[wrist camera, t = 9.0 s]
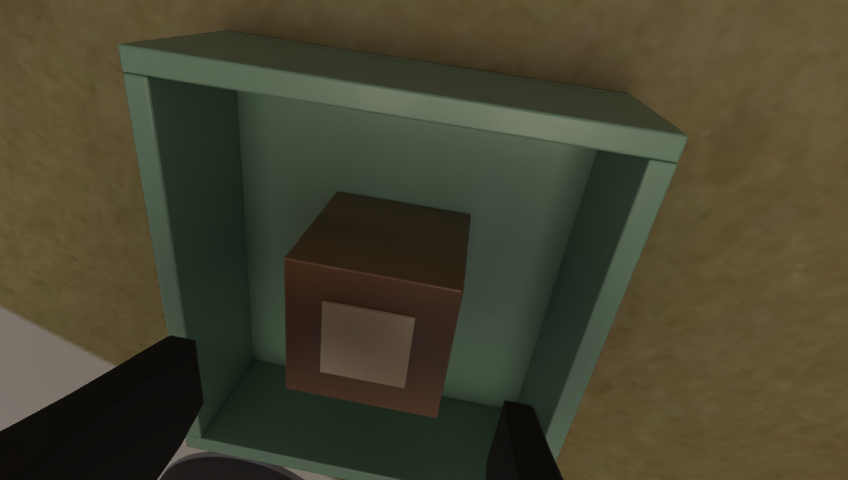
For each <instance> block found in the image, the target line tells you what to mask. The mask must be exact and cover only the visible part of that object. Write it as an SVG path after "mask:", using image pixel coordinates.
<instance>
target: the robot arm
mask: <svg viewBox="0 0 848 480" xmlns="http://www.w3.org/2000/svg"><path fill="white" fill-rule="evenodd" d="M203 404H204V400H203V393H202V385H201V378H200V370H199V363H198V355H197V348H196V341H195V340H192V339H187V338H182V337H177V336H172V335H170V336H168V337H166V338H165V339H163V340H161V341H159V342H158V343H156V344H154V345H152V346H151V347H149V348H147V349H146V350H144V351H142V352H140V353H139V354H137V355H135V356H134V357H132V358H130V359H129V360H127V361H125V362H124V363H122V364H120V365H119V366H117V367H115V368H114V369H112V370H110V371H109V372H107V373H105V374H103V375H102V376H100V377H98V378H96V379H95V380H93V381H91V382H90V383H88V384H86V385H84V386H83V387H81V388H79V389H78V390H76V391H74V392H73V393H71V394H69V395H67V396H65V397H64V398H62V399H60V400H58V401H56V402H54V403H52V404H51V405H49V406H47V407H45V408H43V409H41V410H40V411H38V412H36V413H34V414H32V415H30V416H28V417H27V418H25V419H23V420H21V421H19V422H17V423H15V424H13V425H12V426H10V427H8V428H6V429H4V430H2V431H0V480H157V479H158V477H159V476H160V475H161V473H162V472H163V470H164V469H165V467H166V466H167V465H168V463H169V462H170V460H171V459H172V457H173V456H174V454H175V453H176V452H177V450H178V449H179V447H180V446H181V444H182V442H183V441H184V439H185V437H186V435H187V434H188V432H189V430H190V428H191V426H192V425H193V423H194V421H195V419H196V417H197V415H198V413H199V411H200V409H201V407H202V406H203ZM486 480H563V478H562V475H561V473H560V471H559V469H558V466H557V464H556V462H555V459H554V457H553V455H552V452H551V450H550V447H549V445H548V443H547V440H546V438H545V435H544V432H543V430H542V427H541V424H540V422H539V419H538V416H537V413H536V411H535V409H534V408H533V406H532V405H527V404H522V403H516V402H511V401H506V400H504V404H503V407H502V411H501V414H500V417H499V421H498V424H497V427H496V431H495V434H494V437H493V441H492V444H491V447H490V451H489V454H488V458H487V464H486Z"/></svg>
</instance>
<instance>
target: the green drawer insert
mask: <svg viewBox="0 0 848 480" xmlns="http://www.w3.org/2000/svg"><path fill="white" fill-rule="evenodd" d="M118 49H119V54H120V60H121V66H122V70H123V71H124V72H126V73H124V75H123V77H124V83H125V88H126V94H127V100H128V106H129V112H130V117H131V123H132V129H133V135H134V141H135V146H136V152H137V158H138V164H139V170H140V175H141V181H142V187H143V193H144V199H145V204H146V210H147V216H148V222H149V228H150V233H151V239H152V245H153V251H154V257H155V262H156V268H157V274H158V280H159V286H160V291H161V297H162V303H163V309H164V315H165V320H166V326H167V332H168V336H170V335H172V336H177V337H182V338H187V339H192V340H195V341H196V348H197V355H198V363H199V370H200V378H201V385H202V393H203V400H204V404H203V406H202V407H201V409H200V411H199V413H198V415H197V417H196V419H195V421H194V423H193V425H192V426H191V428H190V430H189V432H188V434H187V435H186V443H187V446H188V447H193V448H198V449H202V450H207V451H212V452H217V453H221V454H226V455H231V456H236V457H241V458H245V459H250V460H255V461H260V462H265V463H269V464H274V465H279V466H284V467H289V468H293V469H298V470H303V471H308V472H313V473H318V474H322V475H327V476H332V477H337V478H341V479H346V480H486V464H487V458H488V454H489V451H490V447H491V444H492V441H493V437H494V434H495V431H496V427H497V424H498V421H499V417H500V414H501V411H502V407H503V404H504V400H506V401H511V402H516V403H522V404H527V405H532V406H533V408H534V409H535V411H536V413H537V416H538V419H539V422H540V424H541V427H542V430H543V432H544V435H545V438H546V440H547V443H548V445H549V447H550V450H551V452H552V455H553V457H554V459H555V462H556V460H557V457H558V455H559V452H560V450H561V448H562V445H563V443H564V440H565V438H566V435H567V433H568V431H569V428H570V426H571V423H572V421H573V418H574V416H575V413H576V411H577V409H578V406H579V404H580V401H581V399H582V396H583V394H584V392H585V389H586V387H587V384H588V382H589V379H590V377H591V374H592V372H593V370H594V367H595V365H596V362H597V360H598V357H599V355H600V353H601V350H602V348H603V345H604V343H605V340H606V338H607V335H608V333H609V331H610V328H611V326H612V323H613V321H614V318H615V316H616V314H617V311H618V309H619V306H620V304H621V301H622V299H623V296H624V294H625V292H626V289H627V287H628V284H629V282H630V279H631V277H632V275H633V272H634V270H635V267H636V265H637V262H638V260H639V257H640V255H641V253H642V250H643V248H644V245H645V243H646V240H647V238H648V236H649V233H650V231H651V228H652V226H653V223H654V221H655V218H656V216H657V214H658V211H659V209H660V206H661V204H662V201H663V199H664V197H665V194H666V192H667V189H668V187H669V184H670V182H671V179H672V177H673V175H674V172H675V170H676V167H677V164H676V163H675V162H678V161H679V159H680V157H681V154H682V152H683V150H684V147H685V145H686V142H687V140H688V135H686V134H685V133H683V132H682V131H681V130H679V129H678V128H676V127H675V126H674V125H672V124H671V123H669V122H668V121H667V120H665V119H664V118H662V117H661V116H660V115H658V114H657V113H655V112H654V111H653V110H651V109H650V108H648V107H647V106H646V105H644V104H643V103H641V102H640V101H639V100H637V99H636V98H635V97H633V96H632V95H630V94H627V93H621V92H615V91H608V90H602V89H595V88H589V87H583V86H576V85H570V84H564V83H557V82H551V81H544V80H538V79H532V78H525V77H519V76H513V75H506V74H500V73H494V72H487V71H481V70H474V69H468V68H462V67H455V66H449V65H443V64H436V63H430V62H423V61H417V60H411V59H404V58H398V57H392V56H385V55H379V54H373V53H366V52H360V51H353V50H347V49H341V48H334V47H328V46H322V45H315V44H309V43H303V42H296V41H290V40H283V39H277V38H271V37H264V36H258V35H252V34H245V33H239V32H232V31H226V30H224V31H217V32H210V33H202V34H194V35H186V36H178V37H170V38H162V39H155V40H147V41H139V42H131V43H123V44H119V46H118ZM336 192H344V193H350V194H356V195H361V196H367V197H373V198H378V199H384V200H390V201H396V202H401V203H407V204H413V205H419V206H424V207H430V208H436V209H442V210H447V211H453V212H459V213H465V214H470V215H471V221H470V231H469V241H468V251H467V261H466V271H465V281H464V291H463V296H462V301H461V306H460V311H459V315H458V320H457V325H456V330H455V335H454V340H453V344H452V349H451V354H450V359H449V364H448V369H447V373H446V378H445V383H444V388H443V393H442V398H441V402H440V407H439V412H438V416H437V418H433V417H428V416H423V415H418V414H413V413H408V412H403V411H398V410H393V409H388V408H383V407H378V406H373V405H368V404H363V403H358V402H353V401H348V400H343V399H338V398H333V397H328V396H323V395H318V394H313V393H308V392H303V391H298V390H292V389H288V388H286V350H285V292H284V257H285V256H286V255H287V254H288V252H289V251H290V250H291V249H292V247H293V246H294V245H295V244H296V242H297V241H298V240H299V239H300V237H301V236H302V235H303V234H304V232H305V231H306V230H307V229H308V227H309V226H310V225H311V224H312V222H313V221H314V220H315V219H316V217H317V216H318V215H319V214H320V212H321V211H322V210H323V209H324V207H325V206H326V205H327V204H328V202H329V201H330V200H331V199H332V197H333V196H334V195H335V194H336Z"/></svg>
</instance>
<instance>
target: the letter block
mask: <svg viewBox="0 0 848 480" xmlns="http://www.w3.org/2000/svg"><path fill="white" fill-rule="evenodd" d="M470 221H471V215H470V214H465V213H459V212H453V211H447V210H442V209H436V208H430V207H424V206H419V205H413V204H407V203H401V202H396V201H390V200H384V199H378V198H373V197H367V196H361V195H356V194H350V193H344V192H336V194H335V195H334V196H333V197H332V199H331V200H330V201H329V202H328V204H327V205H326V206H325V207H324V209H323V210H322V211H321V212H320V214H319V215H318V216H317V217H316V219H315V220H314V221H313V222H312V224H311V225H310V226H309V227H308V229H307V230H306V231H305V232H304V234H303V235H302V236H301V237H300V239H299V240H298V241H297V242H296V244H295V245H294V246H293V247H292V249H291V250H290V251H289V252H288V254H287V255H286V256H285V257H284V292H285V350H286V388H288V389H292V390H298V391H303V392H308V393H313V394H318V395H323V396H328V397H333V398H338V399H343V400H348V401H353V402H358V403H363V404H368V405H373V406H378V407H383V408H388V409H393V410H398V411H403V412H408V413H413V414H418V415H423V416H428V417H433V418H437V416H438V412H439V407H440V402H441V398H442V393H443V388H444V383H445V378H446V373H447V369H448V364H449V359H450V354H451V349H452V344H453V340H454V335H455V330H456V325H457V320H458V315H459V311H460V306H461V301H462V296H463V291H464V281H465V271H466V261H467V251H468V241H469V231H470Z"/></svg>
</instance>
